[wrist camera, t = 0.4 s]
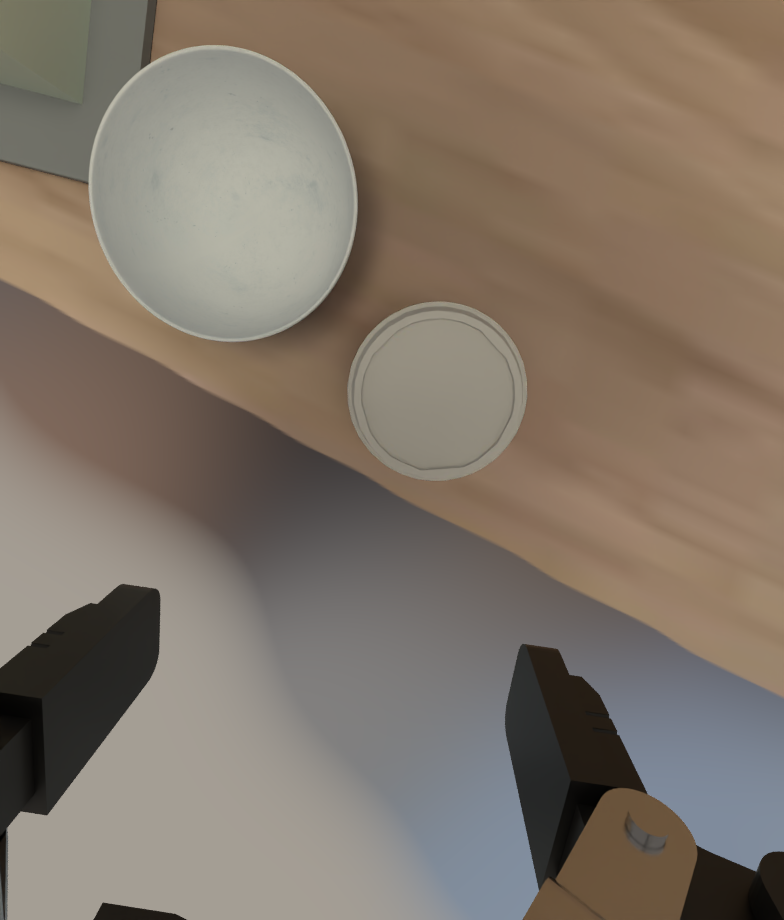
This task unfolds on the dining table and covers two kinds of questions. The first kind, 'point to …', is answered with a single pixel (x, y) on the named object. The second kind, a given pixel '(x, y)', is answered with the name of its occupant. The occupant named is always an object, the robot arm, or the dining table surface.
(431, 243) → the dining table surface
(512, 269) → the dining table surface
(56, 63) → the sage cover
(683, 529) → the dining table surface
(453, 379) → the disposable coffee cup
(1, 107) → the grey mat
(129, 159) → the chinaware
